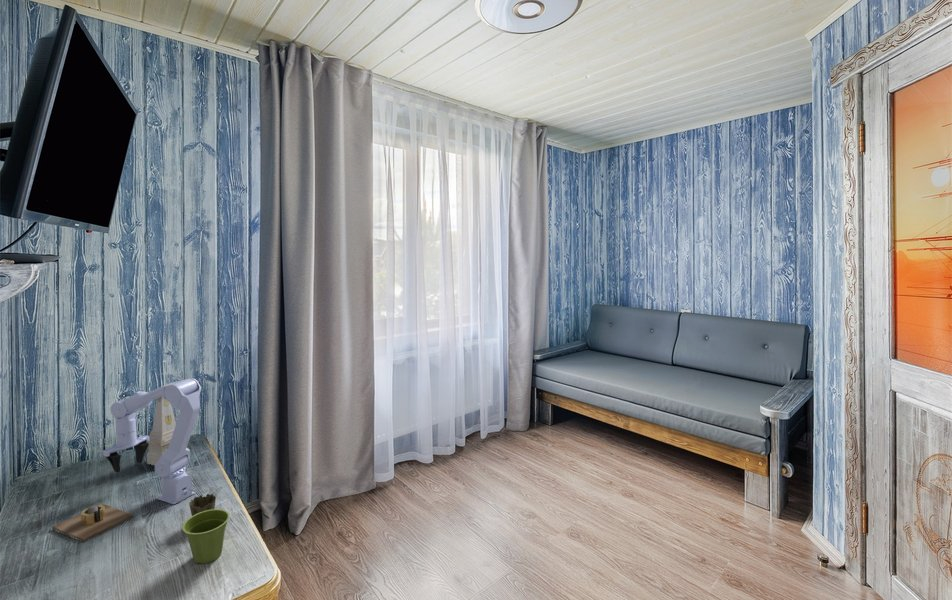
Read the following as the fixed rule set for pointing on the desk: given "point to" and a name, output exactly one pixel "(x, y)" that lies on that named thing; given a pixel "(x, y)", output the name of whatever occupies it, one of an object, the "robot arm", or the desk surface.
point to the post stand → (88, 532)
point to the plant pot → (206, 534)
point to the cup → (202, 504)
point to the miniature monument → (161, 430)
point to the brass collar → (92, 516)
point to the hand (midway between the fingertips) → (128, 466)
